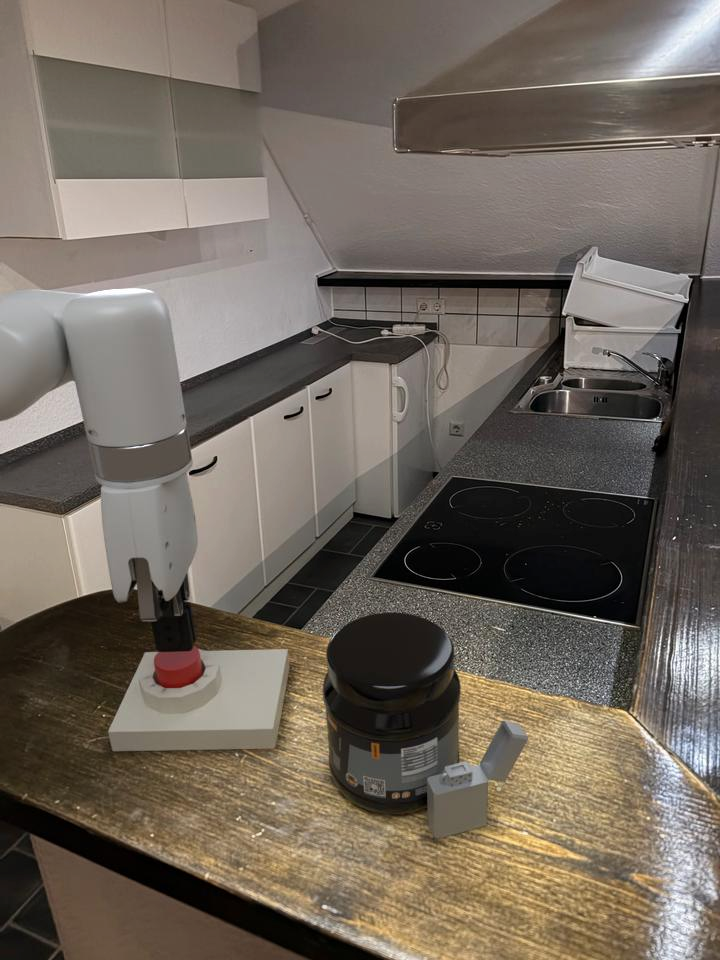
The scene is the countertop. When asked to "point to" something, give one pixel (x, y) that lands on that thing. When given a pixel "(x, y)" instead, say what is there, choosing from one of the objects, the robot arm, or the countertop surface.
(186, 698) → the grey button base
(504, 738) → the lighter
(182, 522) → the robot arm
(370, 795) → the supplement container
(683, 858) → the countertop surface
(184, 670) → the power button
